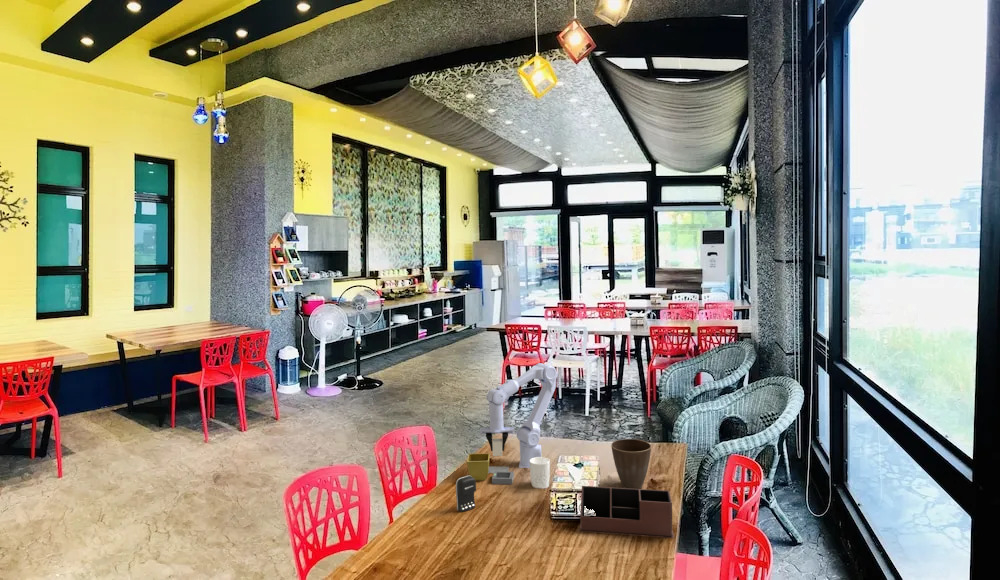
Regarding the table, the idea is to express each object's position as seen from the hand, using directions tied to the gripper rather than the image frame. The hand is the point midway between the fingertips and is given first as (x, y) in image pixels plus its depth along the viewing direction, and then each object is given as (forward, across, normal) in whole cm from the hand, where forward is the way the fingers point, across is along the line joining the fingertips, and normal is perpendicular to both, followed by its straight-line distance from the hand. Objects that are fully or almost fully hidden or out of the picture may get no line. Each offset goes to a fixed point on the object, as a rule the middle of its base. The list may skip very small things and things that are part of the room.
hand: (497, 450), depth 233 cm
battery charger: (+9, -10, -35) cm, 38 cm away
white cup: (+9, +17, -16) cm, 25 cm away
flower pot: (+9, -8, -7) cm, 14 cm away
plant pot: (+9, +52, -18) cm, 56 cm away
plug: (+2, 0, 0) cm, 2 cm away
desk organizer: (+10, +42, -51) cm, 67 cm away
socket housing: (+9, +2, -10) cm, 14 cm away
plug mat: (+9, 0, +1) cm, 9 cm away
